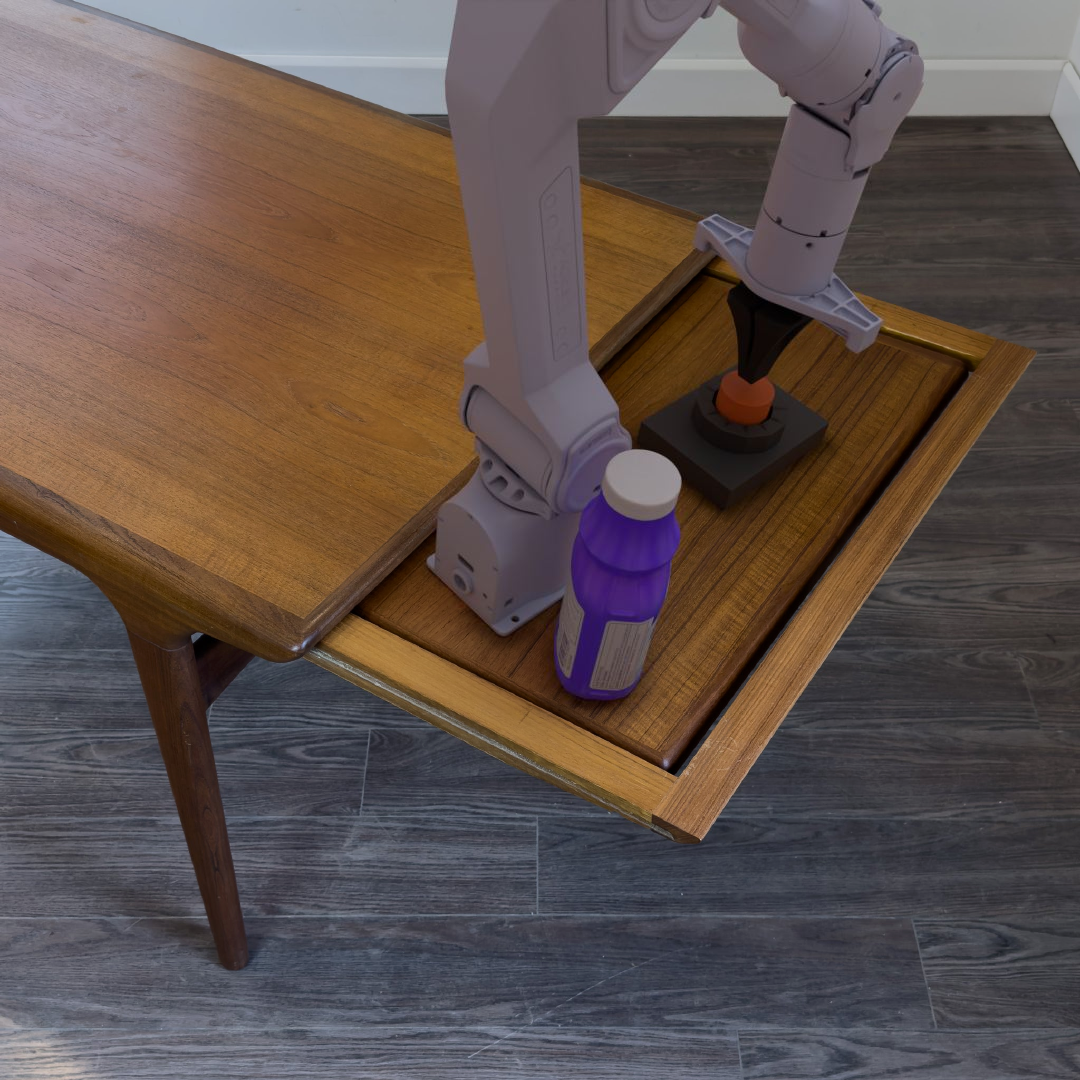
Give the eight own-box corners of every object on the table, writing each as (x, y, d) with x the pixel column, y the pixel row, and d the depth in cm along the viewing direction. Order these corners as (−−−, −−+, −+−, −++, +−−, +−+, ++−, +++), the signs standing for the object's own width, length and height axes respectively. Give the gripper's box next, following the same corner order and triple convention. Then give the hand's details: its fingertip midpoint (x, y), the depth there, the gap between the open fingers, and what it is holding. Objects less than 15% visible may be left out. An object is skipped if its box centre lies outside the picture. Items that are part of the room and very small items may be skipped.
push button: (744, 434, 81) (752, 413, 80) (704, 404, 83) (710, 383, 81) (778, 412, 83) (785, 391, 82) (738, 383, 85) (744, 362, 83)
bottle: (640, 715, 68) (703, 530, 55) (549, 707, 68) (591, 519, 55) (636, 621, 73) (693, 430, 60) (551, 613, 73) (590, 420, 60)
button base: (724, 511, 81) (737, 473, 78) (635, 442, 85) (645, 403, 82) (821, 442, 87) (837, 405, 84) (735, 381, 91) (747, 342, 88)
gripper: (935, 246, 69) (864, 406, 80) (759, 142, 75) (713, 304, 86) (871, 285, 66) (805, 448, 76) (691, 173, 72) (652, 337, 82)
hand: (752, 374), depth 81 cm, fingers closed
